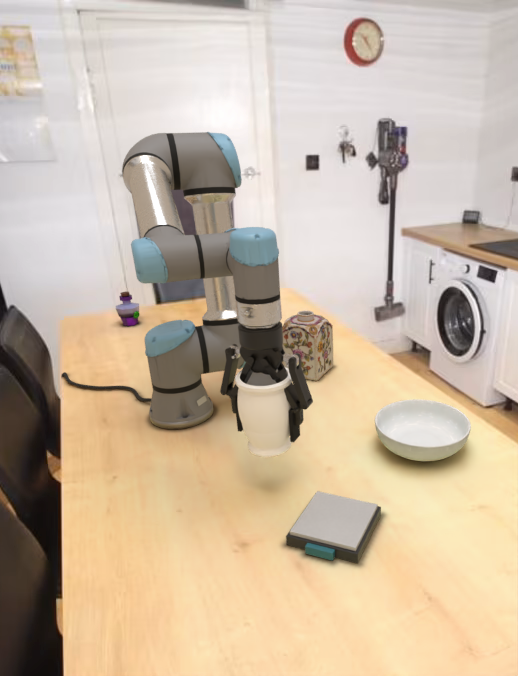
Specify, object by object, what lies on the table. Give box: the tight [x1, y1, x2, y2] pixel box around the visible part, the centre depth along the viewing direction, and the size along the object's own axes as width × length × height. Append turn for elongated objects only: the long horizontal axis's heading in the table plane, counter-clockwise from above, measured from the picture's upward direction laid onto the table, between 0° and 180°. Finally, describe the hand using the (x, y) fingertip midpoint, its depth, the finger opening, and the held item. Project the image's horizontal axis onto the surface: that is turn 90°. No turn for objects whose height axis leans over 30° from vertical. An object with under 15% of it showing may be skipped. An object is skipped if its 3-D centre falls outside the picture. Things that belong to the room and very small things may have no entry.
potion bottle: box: [115, 291, 141, 328], centre depth 196 cm, size 9×9×12 cm
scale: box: [285, 490, 382, 564], centre depth 95 cm, size 13×14×3 cm
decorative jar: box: [282, 310, 334, 382], centre depth 155 cm, size 12×12×18 cm
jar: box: [234, 367, 293, 458], centre depth 100 cm, size 11×10×15 cm
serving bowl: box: [374, 398, 472, 462], centre depth 120 cm, size 21×21×7 cm
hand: (268, 433), depth 102 cm, fingers closed on jar, 10 cm apart
